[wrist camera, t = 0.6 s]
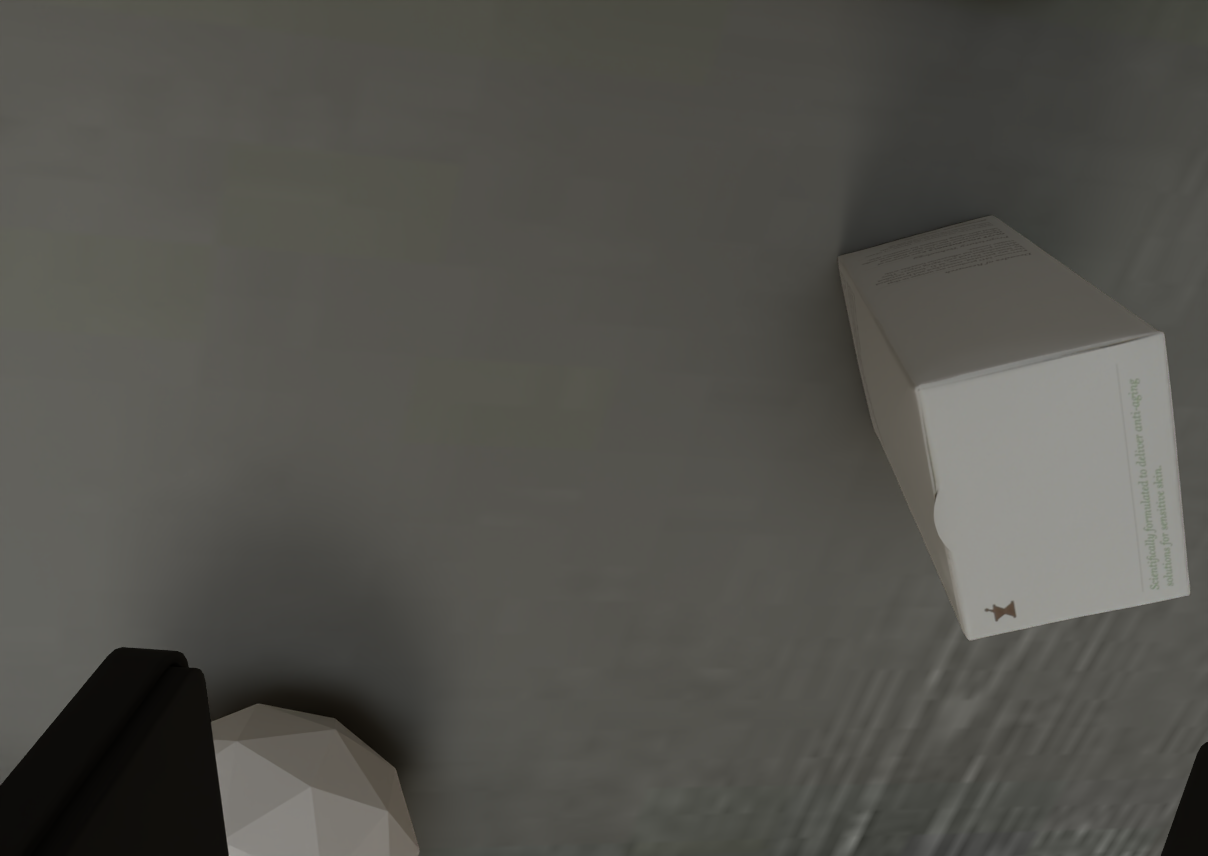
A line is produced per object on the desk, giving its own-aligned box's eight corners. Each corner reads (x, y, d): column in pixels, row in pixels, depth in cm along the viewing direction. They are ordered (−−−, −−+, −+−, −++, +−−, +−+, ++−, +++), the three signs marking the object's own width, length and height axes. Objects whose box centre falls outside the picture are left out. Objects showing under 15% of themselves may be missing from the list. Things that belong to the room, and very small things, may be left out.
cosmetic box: (1021, 398, 42) (1204, 609, 28) (862, 435, 43) (960, 657, 29) (993, 203, 39) (1183, 327, 25) (823, 248, 40) (911, 392, 26)
